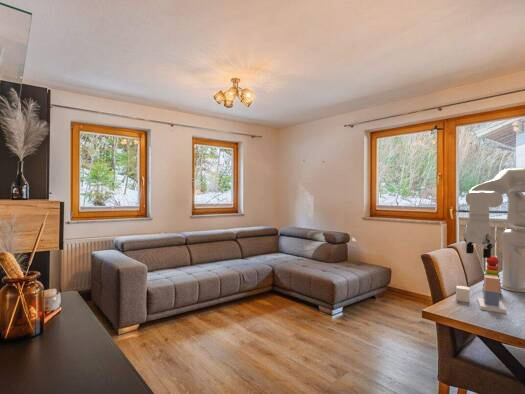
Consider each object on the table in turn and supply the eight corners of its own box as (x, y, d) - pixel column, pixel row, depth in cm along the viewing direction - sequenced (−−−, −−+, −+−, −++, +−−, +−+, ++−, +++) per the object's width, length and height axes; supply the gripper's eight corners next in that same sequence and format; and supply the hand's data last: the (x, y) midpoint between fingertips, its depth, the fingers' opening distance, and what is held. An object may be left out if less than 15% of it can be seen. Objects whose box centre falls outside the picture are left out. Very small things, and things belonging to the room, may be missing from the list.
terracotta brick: (483, 287, 141) (484, 274, 141) (497, 289, 139) (497, 276, 139) (485, 290, 137) (485, 277, 137) (499, 292, 134) (499, 279, 134)
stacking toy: (505, 294, 154) (506, 257, 154) (489, 294, 154) (490, 257, 154) (494, 289, 162) (494, 254, 161) (478, 289, 162) (479, 254, 162)
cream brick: (456, 297, 150) (456, 285, 150) (468, 299, 148) (468, 286, 147) (456, 300, 146) (456, 288, 146) (469, 302, 143) (469, 289, 143)
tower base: (477, 300, 145) (477, 285, 145) (501, 304, 141) (501, 288, 141) (480, 309, 135) (480, 292, 135) (506, 313, 131) (506, 296, 130)
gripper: (457, 216, 149) (456, 251, 150) (487, 220, 132) (486, 259, 132) (471, 216, 150) (470, 251, 150) (503, 220, 133) (502, 259, 133)
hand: (478, 255), depth 141 cm, fingers open, 9 cm apart
